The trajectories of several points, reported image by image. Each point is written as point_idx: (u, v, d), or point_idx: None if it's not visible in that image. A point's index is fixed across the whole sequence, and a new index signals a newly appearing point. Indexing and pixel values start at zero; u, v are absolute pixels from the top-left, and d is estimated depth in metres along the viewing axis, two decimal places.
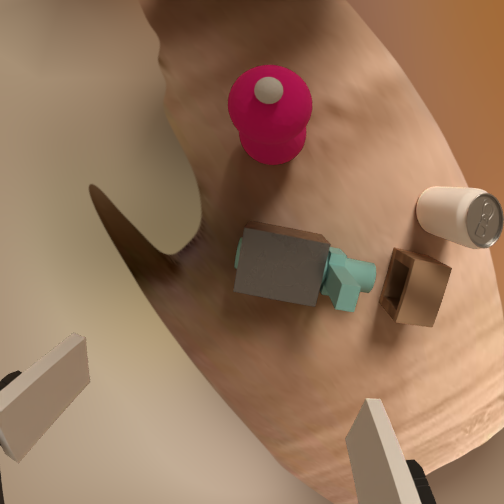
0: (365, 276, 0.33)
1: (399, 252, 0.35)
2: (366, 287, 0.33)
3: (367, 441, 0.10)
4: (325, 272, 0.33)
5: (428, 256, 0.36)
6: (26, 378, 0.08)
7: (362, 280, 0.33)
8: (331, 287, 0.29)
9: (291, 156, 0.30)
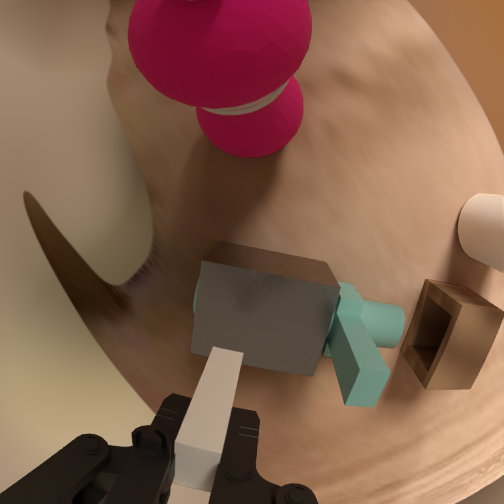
0: (389, 328, 0.21)
1: (435, 288, 0.23)
2: (389, 343, 0.21)
3: None
4: (330, 325, 0.21)
5: (469, 289, 0.24)
6: (202, 400, 0.10)
7: (385, 335, 0.21)
8: (339, 359, 0.17)
9: (279, 143, 0.18)
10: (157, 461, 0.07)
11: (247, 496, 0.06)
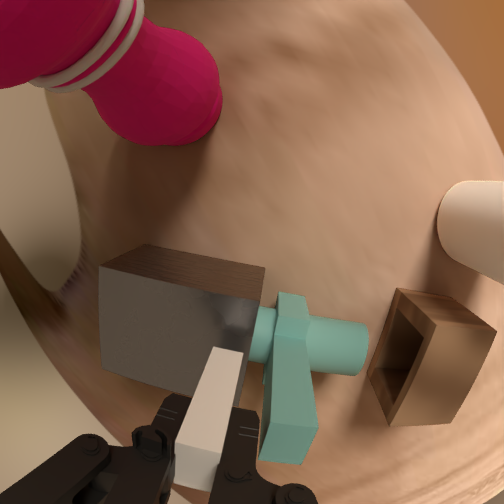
0: (347, 353, 0.17)
1: (406, 299, 0.19)
2: (348, 371, 0.17)
3: None
4: (268, 348, 0.17)
5: (453, 300, 0.20)
6: (202, 400, 0.10)
7: (341, 361, 0.17)
8: (266, 396, 0.13)
9: (181, 124, 0.14)
10: (157, 461, 0.07)
11: (247, 496, 0.06)
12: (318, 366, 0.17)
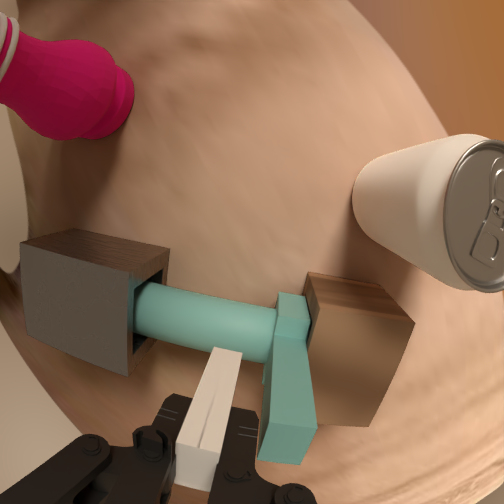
0: None
1: (310, 283, 0.19)
2: None
3: None
4: (268, 348, 0.17)
5: (378, 288, 0.20)
6: (203, 400, 0.10)
7: None
8: (265, 396, 0.13)
9: (77, 119, 0.15)
10: (158, 461, 0.07)
11: (246, 496, 0.06)
12: None
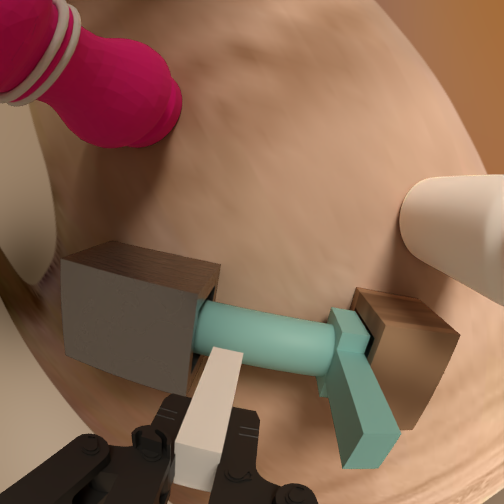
0: None
1: (363, 299, 0.19)
2: None
3: None
4: (329, 363, 0.17)
5: (419, 302, 0.20)
6: (202, 400, 0.10)
7: None
8: (339, 409, 0.13)
9: (131, 127, 0.15)
10: (157, 461, 0.07)
11: (247, 496, 0.06)
12: None
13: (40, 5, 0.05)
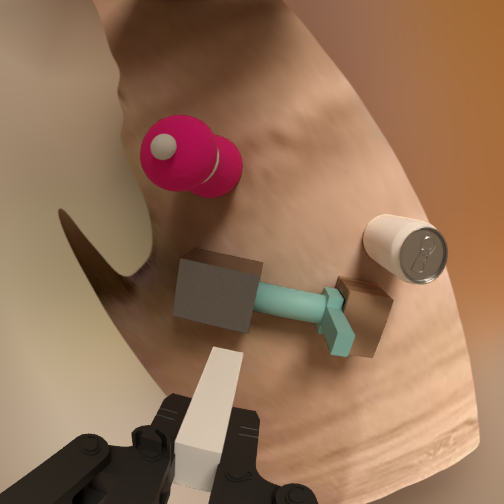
0: None
1: (341, 282, 0.37)
2: None
3: None
4: (323, 314, 0.35)
5: (375, 285, 0.38)
6: (202, 400, 0.10)
7: None
8: (328, 331, 0.31)
9: (224, 190, 0.32)
10: (157, 461, 0.07)
11: (247, 496, 0.06)
12: None
13: (217, 155, 0.22)
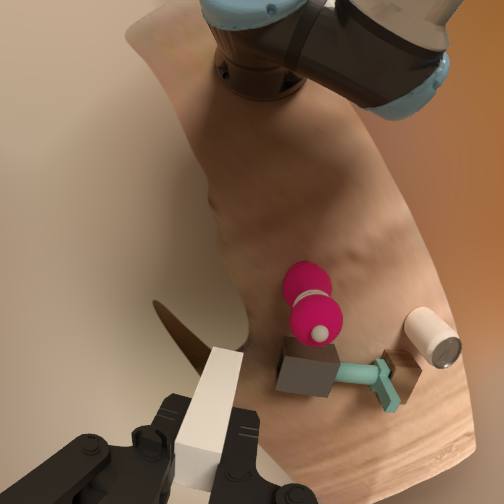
0: None
1: (387, 356, 0.48)
2: None
3: None
4: (376, 380, 0.46)
5: (409, 354, 0.49)
6: (202, 400, 0.10)
7: None
8: (381, 395, 0.42)
9: None
10: (157, 461, 0.07)
11: (247, 496, 0.06)
12: None
13: None
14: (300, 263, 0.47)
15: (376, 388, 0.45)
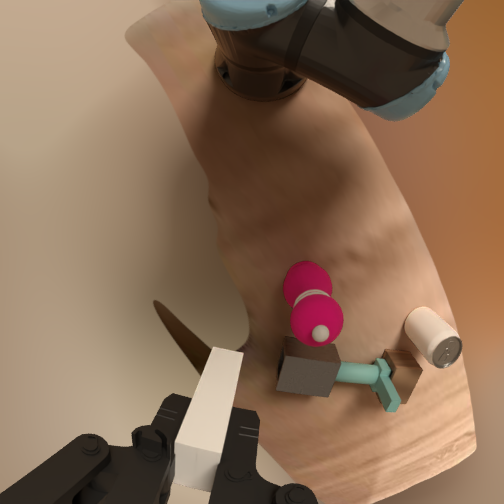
0: None
1: (388, 355, 0.48)
2: None
3: None
4: (376, 380, 0.46)
5: (409, 353, 0.49)
6: (202, 400, 0.10)
7: None
8: (382, 395, 0.42)
9: None
10: (157, 461, 0.07)
11: (247, 496, 0.06)
12: None
13: None
14: (300, 263, 0.47)
15: (377, 388, 0.45)
